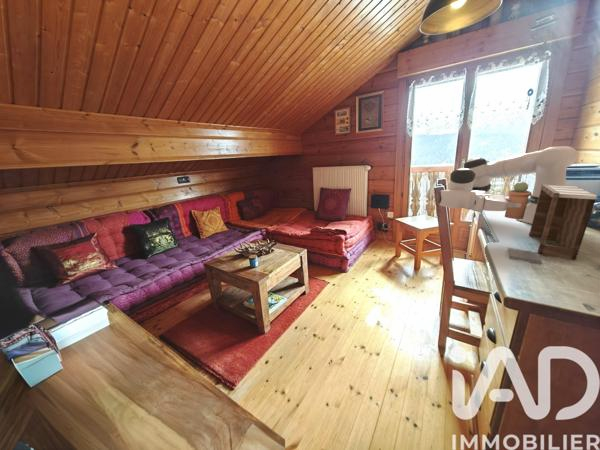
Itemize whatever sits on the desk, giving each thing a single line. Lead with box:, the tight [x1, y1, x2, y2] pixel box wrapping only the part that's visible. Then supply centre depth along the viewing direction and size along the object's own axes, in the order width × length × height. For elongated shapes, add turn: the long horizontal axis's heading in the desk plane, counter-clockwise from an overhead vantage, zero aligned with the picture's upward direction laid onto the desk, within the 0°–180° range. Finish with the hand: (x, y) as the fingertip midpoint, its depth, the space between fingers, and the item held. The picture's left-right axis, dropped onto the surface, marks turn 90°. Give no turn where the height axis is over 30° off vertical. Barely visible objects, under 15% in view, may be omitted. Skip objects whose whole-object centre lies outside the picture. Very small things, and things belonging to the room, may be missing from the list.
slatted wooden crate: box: [528, 184, 598, 261], centre depth 93 cm, size 25×10×24 cm, turn 143°
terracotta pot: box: [504, 181, 532, 220], centre depth 99 cm, size 7×7×15 cm
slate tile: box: [507, 247, 542, 265], centre depth 88 cm, size 9×8×1 cm
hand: (519, 203), depth 98 cm, fingers closed on terracotta pot, 6 cm apart
